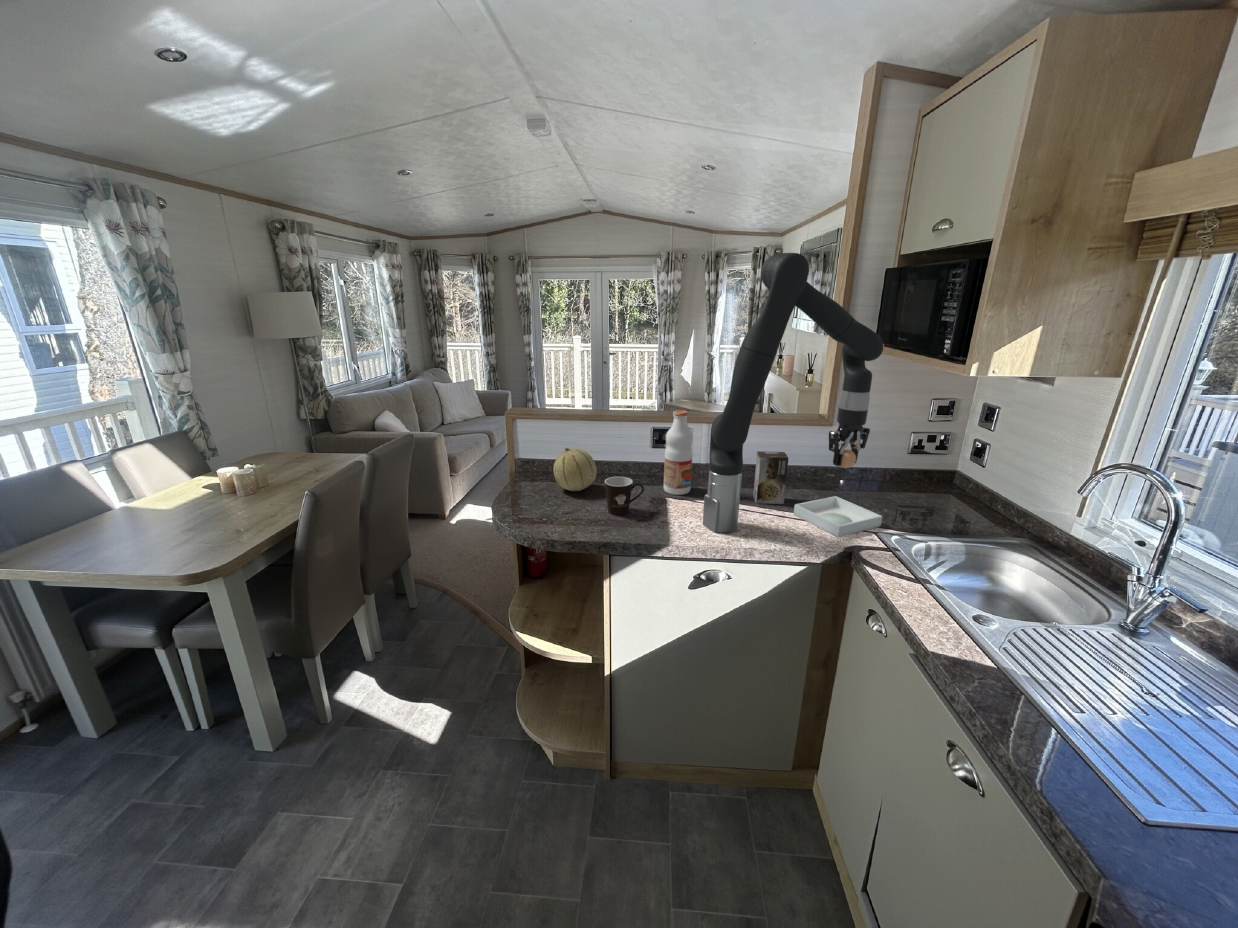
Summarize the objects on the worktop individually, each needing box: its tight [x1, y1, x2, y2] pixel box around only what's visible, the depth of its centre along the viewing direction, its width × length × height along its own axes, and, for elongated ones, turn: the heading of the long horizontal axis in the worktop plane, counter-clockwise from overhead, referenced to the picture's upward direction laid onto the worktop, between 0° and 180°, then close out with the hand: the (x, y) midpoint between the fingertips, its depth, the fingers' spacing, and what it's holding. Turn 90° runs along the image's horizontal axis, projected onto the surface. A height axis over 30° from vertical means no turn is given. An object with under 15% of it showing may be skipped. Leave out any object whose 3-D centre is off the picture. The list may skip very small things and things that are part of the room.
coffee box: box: [752, 450, 789, 505], centre depth 163 cm, size 9×6×16 cm
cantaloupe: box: [552, 447, 598, 492], centre depth 171 cm, size 15×15×15 cm
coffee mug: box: [604, 476, 645, 516], centre depth 154 cm, size 12×9×10 cm
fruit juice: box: [663, 409, 694, 496], centre depth 169 cm, size 9×9×28 cm
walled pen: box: [793, 495, 883, 538], centre depth 150 cm, size 17×17×3 cm
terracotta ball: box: [839, 448, 857, 469], centre depth 144 cm, size 6×6×6 cm
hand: (844, 463), depth 145 cm, fingers closed on terracotta ball, 5 cm apart
